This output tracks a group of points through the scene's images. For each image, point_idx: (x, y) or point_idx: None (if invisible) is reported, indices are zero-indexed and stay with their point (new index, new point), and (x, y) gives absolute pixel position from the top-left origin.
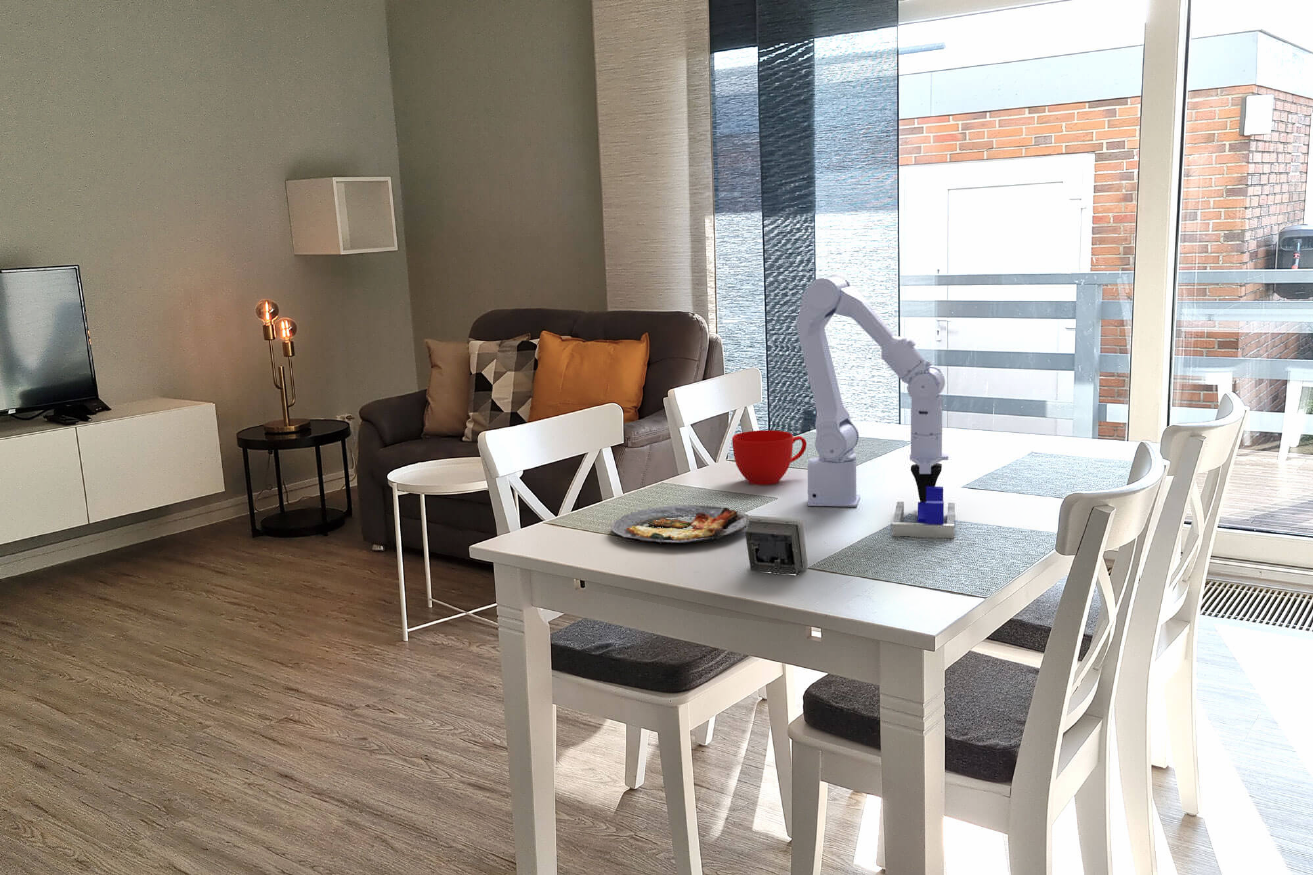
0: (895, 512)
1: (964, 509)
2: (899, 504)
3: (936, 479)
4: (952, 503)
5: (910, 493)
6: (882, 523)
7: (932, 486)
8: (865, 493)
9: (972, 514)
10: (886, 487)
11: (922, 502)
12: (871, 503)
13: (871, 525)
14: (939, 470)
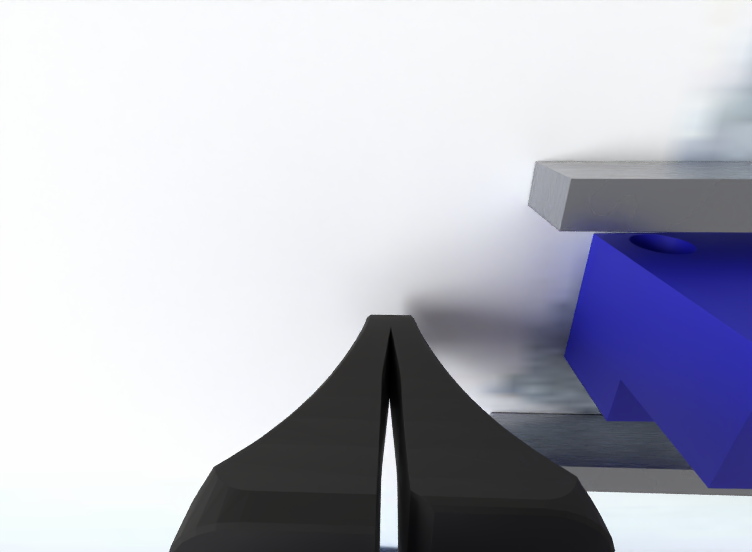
0: (740, 493)
1: (397, 88)
2: None
3: (510, 432)
4: (589, 195)
5: (98, 392)
6: None
7: (733, 447)
8: (173, 530)
9: (544, 19)
10: (36, 475)
11: (624, 398)
12: None
13: (681, 506)
14: (603, 532)
